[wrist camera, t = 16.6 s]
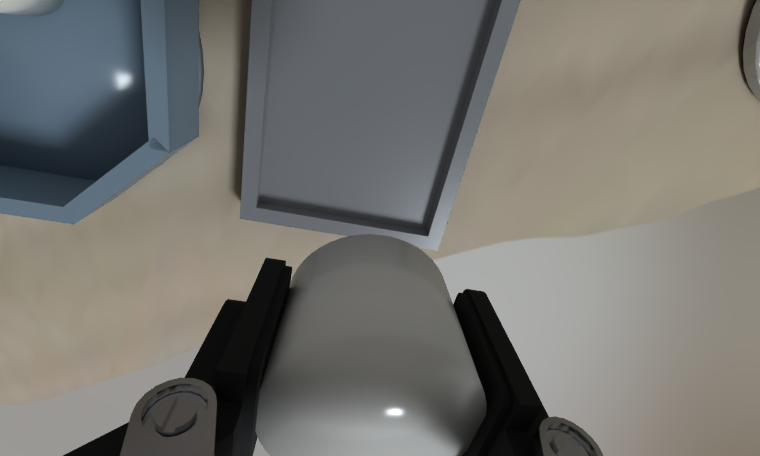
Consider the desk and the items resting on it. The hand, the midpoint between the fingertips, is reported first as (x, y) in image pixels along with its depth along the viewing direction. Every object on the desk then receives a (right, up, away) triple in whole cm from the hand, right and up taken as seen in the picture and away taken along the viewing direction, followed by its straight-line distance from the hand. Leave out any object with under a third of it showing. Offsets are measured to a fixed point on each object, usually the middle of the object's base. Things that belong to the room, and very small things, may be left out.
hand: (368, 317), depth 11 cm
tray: (0, +11, +12) cm, 17 cm away
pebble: (0, 0, +1) cm, 1 cm away
